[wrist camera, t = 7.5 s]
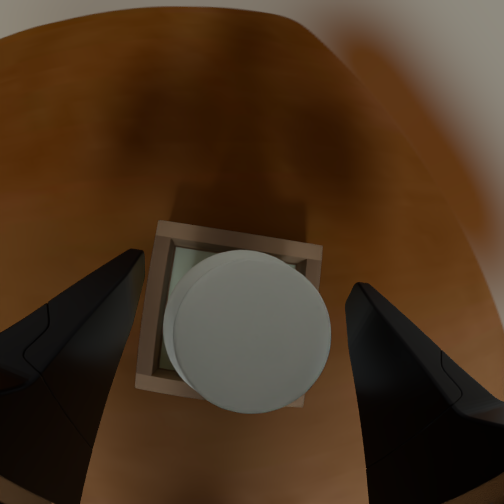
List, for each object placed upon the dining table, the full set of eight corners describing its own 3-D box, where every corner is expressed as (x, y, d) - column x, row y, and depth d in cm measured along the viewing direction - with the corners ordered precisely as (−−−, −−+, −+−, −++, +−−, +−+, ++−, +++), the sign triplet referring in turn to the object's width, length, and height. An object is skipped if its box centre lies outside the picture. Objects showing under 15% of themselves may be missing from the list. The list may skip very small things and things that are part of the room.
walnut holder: (306, 254, 19) (322, 245, 16) (289, 393, 17) (302, 407, 14) (165, 233, 18) (158, 219, 15) (145, 376, 16) (134, 387, 13)
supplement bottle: (260, 259, 17) (321, 205, 8) (289, 349, 17) (378, 389, 7) (167, 287, 16) (120, 263, 7) (198, 380, 16) (190, 461, 6)
